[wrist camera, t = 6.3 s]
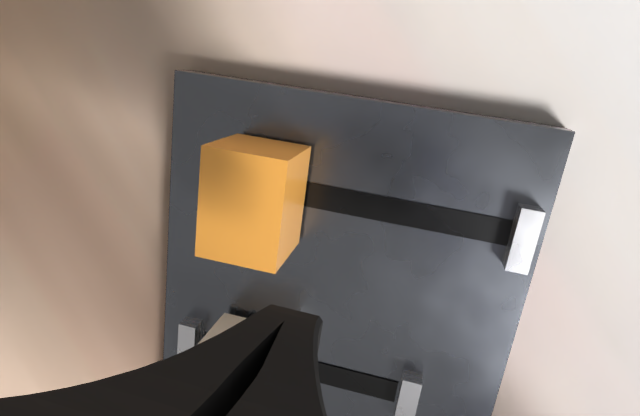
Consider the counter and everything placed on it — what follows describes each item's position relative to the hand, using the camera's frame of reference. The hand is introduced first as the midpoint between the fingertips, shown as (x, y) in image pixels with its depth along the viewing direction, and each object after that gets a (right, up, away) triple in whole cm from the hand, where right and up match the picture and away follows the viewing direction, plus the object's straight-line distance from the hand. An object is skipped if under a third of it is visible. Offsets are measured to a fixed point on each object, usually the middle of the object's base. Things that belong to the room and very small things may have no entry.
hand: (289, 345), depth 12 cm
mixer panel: (+1, 0, +10) cm, 10 cm away
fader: (-1, +4, +8) cm, 9 cm away
